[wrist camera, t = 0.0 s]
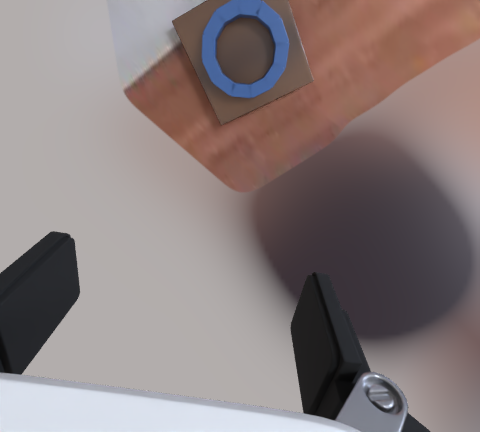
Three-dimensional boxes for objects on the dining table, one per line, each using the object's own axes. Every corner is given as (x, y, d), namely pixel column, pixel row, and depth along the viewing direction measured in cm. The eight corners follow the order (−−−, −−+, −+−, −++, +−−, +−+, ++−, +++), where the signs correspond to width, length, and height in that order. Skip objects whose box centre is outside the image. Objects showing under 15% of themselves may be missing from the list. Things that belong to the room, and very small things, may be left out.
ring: (189, 28, 37) (186, 26, 35) (267, -16, 35) (268, -22, 32) (226, 109, 41) (225, 111, 39) (297, 74, 39) (300, 74, 37)
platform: (176, 24, 39) (171, 21, 37) (273, -33, 36) (275, -41, 34) (222, 122, 45) (221, 125, 42) (309, 80, 42) (313, 81, 39)
